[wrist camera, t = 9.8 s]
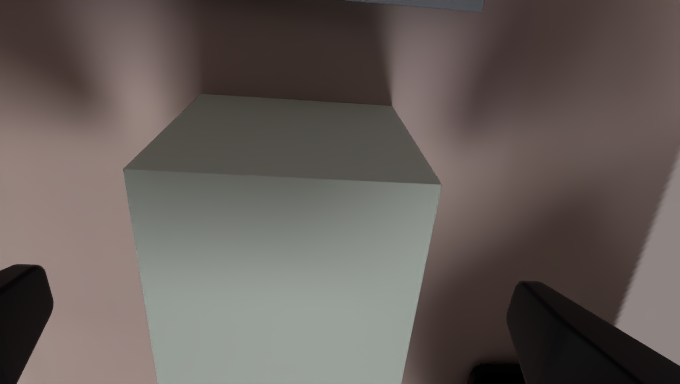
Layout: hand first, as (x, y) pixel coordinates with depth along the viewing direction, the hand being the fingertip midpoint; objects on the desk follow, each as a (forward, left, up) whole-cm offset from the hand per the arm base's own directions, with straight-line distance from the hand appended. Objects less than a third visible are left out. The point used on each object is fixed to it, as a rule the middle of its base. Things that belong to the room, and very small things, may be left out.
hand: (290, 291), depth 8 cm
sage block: (0, 0, -5) cm, 5 cm away
